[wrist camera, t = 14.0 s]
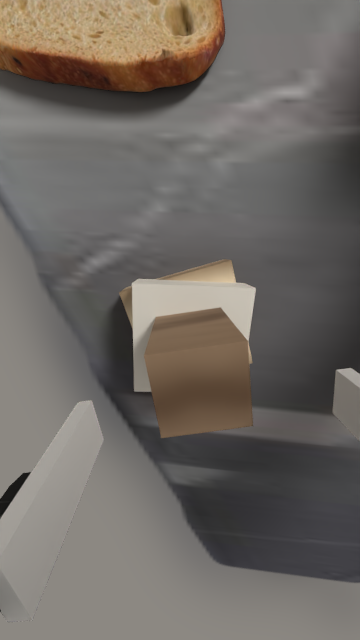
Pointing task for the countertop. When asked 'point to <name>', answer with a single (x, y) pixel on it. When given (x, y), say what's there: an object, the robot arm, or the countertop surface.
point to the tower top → (182, 310)
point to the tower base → (206, 273)
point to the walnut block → (198, 373)
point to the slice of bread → (111, 41)
